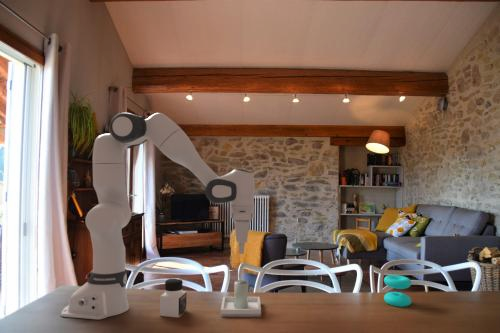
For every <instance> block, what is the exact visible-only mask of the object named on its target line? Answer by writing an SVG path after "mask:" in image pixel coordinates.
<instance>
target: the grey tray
mask: <svg viewBox="0 0 500 333" xmlns="http://www.w3.org/2000/svg"><path fill="white" fill-rule="evenodd" d="M261 306H262V305H261V298H260V296H248V308H247V309H236V308H234V296H223V297H222V302H221V307H220V317H221V318H262V307H261Z"/></svg>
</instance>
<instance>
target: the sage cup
mask: <svg viewBox="0 0 500 333" xmlns="http://www.w3.org/2000/svg"><path fill="white" fill-rule="evenodd" d="M233 282H234V283H233V284H234V287H233V288H234V289H233V290H234V291H233V295H234V296H233V297H234V308H236V309H247V308H248V297H249V281H248V280H243V279H240V280H239V279H238V280H235V281H233Z"/></svg>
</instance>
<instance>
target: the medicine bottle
mask: <svg viewBox="0 0 500 333" xmlns="http://www.w3.org/2000/svg"><path fill="white" fill-rule="evenodd" d="M159 301H160V302H159V303H160V304H159V307H160V308H159V316H160V317H166V318H167V317H168V318H177V319H178V318H180V317H182V315H183V314H184V313H186V311H187V291H186V290H183V280H182V279H181V278H177V277H173V278H168V279H167V280H165V282H164V293H162V294H161V295H160V299H159Z"/></svg>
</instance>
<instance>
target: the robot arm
mask: <svg viewBox="0 0 500 333" xmlns="http://www.w3.org/2000/svg"><path fill="white" fill-rule="evenodd" d="M108 128H109V132H108V133H102V134H100V135H98V136H97V137H96V138H95V140H94V143H93V149H92V186H93V188H94V191H95V193H96V196H97V200H98V204H96V205H95V206H93V207H92V208H91V209H90V210H89V211H88V212H87V214H86V215H85V226H86V228H87V230H88V231H89V234H90V240H91V245H92V270H90V272H88V273H87V274H86V275H85V280H86V279H87V281H86V282H85V283H84V284H82V286H80V287H79V288H78V289H76V290H75V291H74V292H73V293H72V294H71V296H70V298H69V302H68V305H66V306H65V307H63V308H62V310H61V312H60V315H61V317H64V318H66V317H67V318H75V319H76V318H78V319H88V320H89V319H90V320H103V319H106V318H108V317H113V316H117V315H121V314H123V313H125V312H127V311H128V310H129V309H130V305H129V302H128V296H127V286H126V285H127V279H128V276H127V268H126V246H125V244H124V239H123V234H122V233H123V232H122V230H123V229H124V228H125V227H126V226H127V225H128V224H129V222H130V221H131V218H132V208H130V202H129V196H128V192H127V186H126V167H125V166H126V165H125V164H126V161H125V158H126V156H125V154H126V150H127V149H131V148H135V147H138V146H140V145H143V144H144V143H145V142H147V141H150V142H151V143H152V144H153V145H155V147H156V148H157V149H158V150H159V151H160V152H161V153H162V154H163V155H165V156H166V157H167V158H168V159H170V160H171V161H172V162H174V163H175V164H178V165H181V166H182V167H185V168H186V169H188V170H189V171H190V172H191V173H192V174H193V175H194V176H195V177H196V178H197V179H198V180H199V181H200V182H201V183H202V184H203V185H204V187H205V190H204V191H205V196H206V198H207V200H208V201H210V202H211V203H213V204H215V205H219V204H220V205H222V204H225V203H230V210H229V211H230V212H229V213H230V214H229V215H230V216H229V218H230V219H232V221H233V223H234V231H235V232H234V233H235V241H236V243H238V254H240V255H244V254H245V244H247V243H248V242H247V241H248V238H249V230H250V224H251V222H252V220H253V219H255V202H254V200H255V199H254V197H255V192H256V191H255V190H256V188H255V183H256V182H255V178H254V174H253V173H252V172H251V171H249V170H247V169H246V170H245V169H240V168H235V169H233V170H232V171H231V170H230V172H228V173H226V174H224V175H221V176H220V175H219V174H217V173H216V172H215V171H214V170H213V169H212V168H211V167H210V166H209V165H208V164H207V163H206V162H205V160H203V158H201V156H200V154H199V153H198V151H197V149H196V147H195V145H194V143H193V141H192V140H191V139H190V138H189V136H188V135H187V133H185V131H184V130H183V129H182V127H180V126H179V125H178V124H177V123H176V122H174V120H172V119H171V118H170V117H168V116H167V115H166V114H164V113H162V112H156V113H154V114H151V115H150V116H149V117H148V118H144V117H143V116H140V115H137V114H133V113H131V112H121V113H120V112H119V113H117V114H115V115H114V116H113V117H112V118H111V120H110V122H109V127H108Z"/></svg>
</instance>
